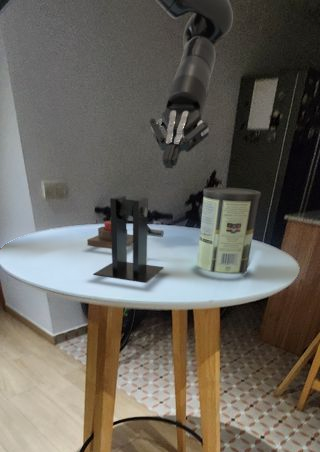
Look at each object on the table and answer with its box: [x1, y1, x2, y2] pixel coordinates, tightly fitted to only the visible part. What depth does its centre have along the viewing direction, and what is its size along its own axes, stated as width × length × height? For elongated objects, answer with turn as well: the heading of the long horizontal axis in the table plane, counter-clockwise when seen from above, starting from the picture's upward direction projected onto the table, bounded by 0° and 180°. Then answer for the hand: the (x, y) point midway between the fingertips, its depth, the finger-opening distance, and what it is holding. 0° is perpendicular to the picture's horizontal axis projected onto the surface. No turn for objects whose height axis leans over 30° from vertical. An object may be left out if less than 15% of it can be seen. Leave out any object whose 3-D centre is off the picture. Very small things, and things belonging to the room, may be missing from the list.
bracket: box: [92, 195, 164, 284], centre depth 64 cm, size 10×10×13 cm
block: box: [86, 225, 133, 250], centre depth 84 cm, size 8×10×4 cm
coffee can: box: [196, 186, 262, 277], centre depth 70 cm, size 10×10×14 cm
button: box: [104, 220, 111, 231], centre depth 83 cm, size 4×4×2 cm
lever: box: [120, 198, 165, 238], centre depth 66 cm, size 13×6×2 cm, turn 161°
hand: (168, 165), depth 74 cm, fingers closed
